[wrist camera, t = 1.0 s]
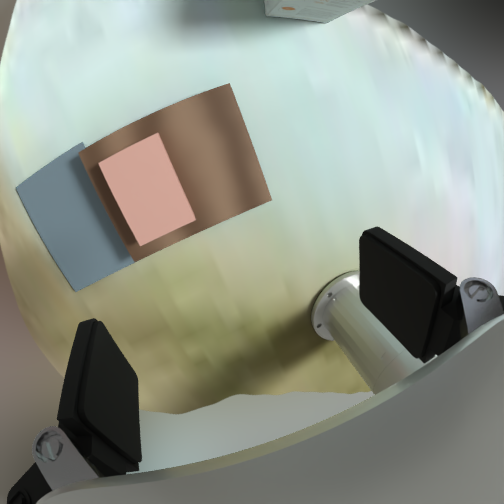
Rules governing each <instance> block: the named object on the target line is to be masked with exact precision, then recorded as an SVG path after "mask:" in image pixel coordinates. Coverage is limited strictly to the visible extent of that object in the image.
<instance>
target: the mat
mask: <svg viewBox="0 0 504 504" xmlns="http://www.w3.org/2000/svg"><path fill="white" fill-rule="evenodd" d="M83 149H85V146H84V144H83V142H81V143H80V144H78V145H77V146H75V147H73V148H72V149H70V150H68V151H67V152H65V153H64V154H62V155H61V156H59V157H58V158H56V159H55V160H53V161H52V162H50V163H49V164H47V165H46V166H44V167H43V168H42V169H40V170H39V171H37V172H36V173H35V174H33V175H32V176H30V177H29V178H28V179H26V180H25V181H24V182H22V183H21V184H20V185H19V186H17V187H16V189H17V192H18V194H19V196H20V198H21V200H22V202H23V204H24V206H25V208H26V210H27V212H28V214H29V216H30V218H31V220H32V222H33V223H34V225H35V227H36V229H37V231H38V233H39V234H40V236H41V238H42V240H43V241H44V243H45V245H46V247H47V248H48V250H49V252H50V253H51V255H52V257H53V258H54V260H55V261H56V263H57V265H58V266H59V268H60V269H61V271H62V272H63V274H64V276H65V277H66V279H67V280H68V282H69V283H70V285H71V286H72V287H73V289H74V290H75V292H77V291H79V290H81V289H83V288H85V287H87V286H89V285H90V284H92V283H94V282H96V281H98V280H100V279H102V278H104V277H106V276H108V275H110V274H112V273H114V272H116V271H118V270H120V269H122V268H124V267H127V266H129V265H131V264H133V263H135V262H134V261H133V259H132V257H131V255H130V254H129V252H128V250H127V249H126V247H125V245H124V243H123V241H122V240H121V238H120V236H119V234H118V232H117V231H116V229H115V227H114V225H113V223H112V221H111V219H110V218H109V216H108V214H107V212H106V210H105V208H104V206H103V204H102V202H101V200H100V198H99V196H98V194H97V192H96V190H95V188H94V186H93V184H92V182H91V180H90V178H89V176H88V173H87V171H86V169H85V167H84V165H83V163H82V160H81V158H80V156H79V154H78V153H79V152H80V151H82V150H83Z"/></svg>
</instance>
